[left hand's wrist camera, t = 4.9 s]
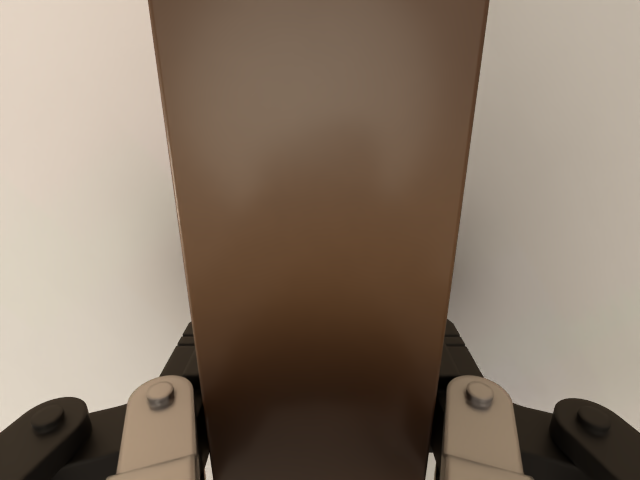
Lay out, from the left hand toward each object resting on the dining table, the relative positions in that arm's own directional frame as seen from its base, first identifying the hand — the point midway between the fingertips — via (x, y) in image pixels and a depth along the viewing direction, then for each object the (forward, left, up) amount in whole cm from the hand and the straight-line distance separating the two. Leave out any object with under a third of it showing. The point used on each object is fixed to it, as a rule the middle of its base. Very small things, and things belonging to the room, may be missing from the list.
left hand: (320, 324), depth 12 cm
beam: (+16, -11, -4) cm, 20 cm away
